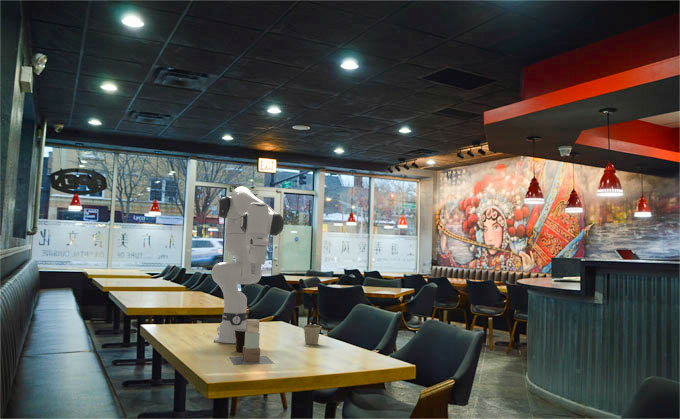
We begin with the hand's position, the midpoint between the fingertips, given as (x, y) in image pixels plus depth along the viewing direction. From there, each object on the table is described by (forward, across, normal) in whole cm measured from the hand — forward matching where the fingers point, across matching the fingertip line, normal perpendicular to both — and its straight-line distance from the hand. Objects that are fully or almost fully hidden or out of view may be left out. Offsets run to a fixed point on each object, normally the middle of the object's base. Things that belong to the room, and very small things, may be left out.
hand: (255, 274), depth 216 cm
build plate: (+35, 0, 0) cm, 35 cm away
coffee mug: (+35, -21, +1) cm, 41 cm away
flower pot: (+35, -39, +37) cm, 64 cm away
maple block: (+23, 0, 0) cm, 23 cm away
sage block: (+29, 0, 0) cm, 29 cm away
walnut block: (+34, 0, 0) cm, 34 cm away
